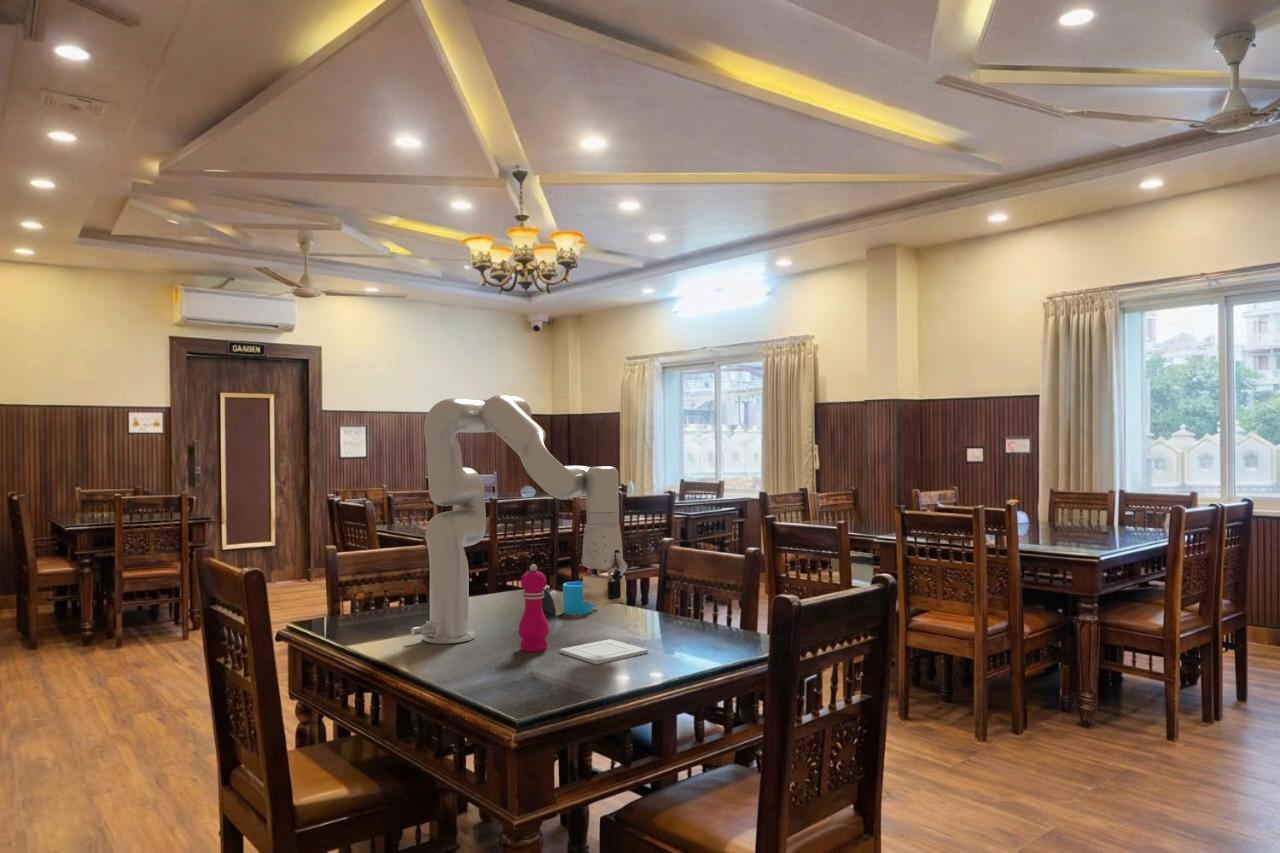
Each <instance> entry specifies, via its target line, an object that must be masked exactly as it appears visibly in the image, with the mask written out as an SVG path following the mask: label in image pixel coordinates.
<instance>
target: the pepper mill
mask: <svg viewBox="0 0 1280 853" xmlns="http://www.w3.org/2000/svg"><path fill="white" fill-rule="evenodd" d="M546 585H547V578H546V575H545V574H544V573H543V572H542V571H539V570H538V565H537V564H535V563H533V564H531V565H530V566H529V571H526V572H525V573H524V574H523V575H522V576H521V579H520V586H521V588H522V589H523V592H522V594H523V595H522V597H523V599H524V604H525V606H524V607H525V608H524V612H523V615H522V617H521V620H520V621H519V624H518V625H519V626H518V635H519V637H520V638H521V639H522V640H521V641H520V650H521V651H522V652H526V653H538V652H543V650H544V651H546V650H547V649H548V641H547V639H546V638H547V636H549V633H550V627H549V623H548V620H547V617H546V615H545V613H544V611H543V599H544V597H545V591H544V589H545V587H546Z"/></svg>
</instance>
